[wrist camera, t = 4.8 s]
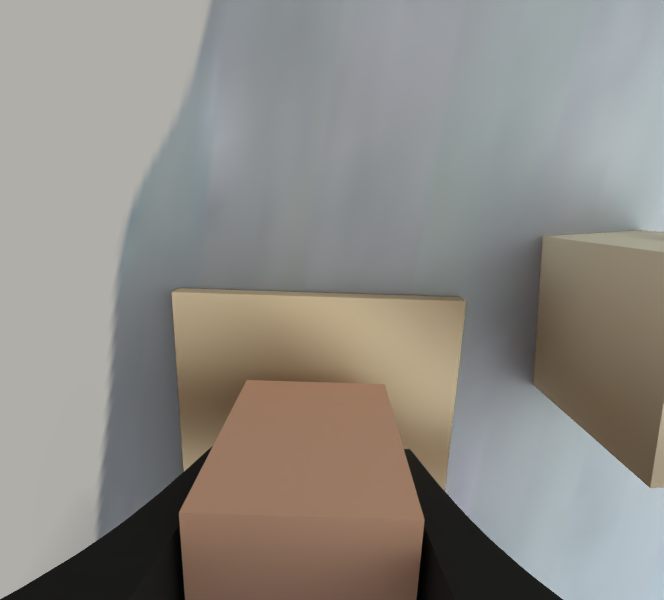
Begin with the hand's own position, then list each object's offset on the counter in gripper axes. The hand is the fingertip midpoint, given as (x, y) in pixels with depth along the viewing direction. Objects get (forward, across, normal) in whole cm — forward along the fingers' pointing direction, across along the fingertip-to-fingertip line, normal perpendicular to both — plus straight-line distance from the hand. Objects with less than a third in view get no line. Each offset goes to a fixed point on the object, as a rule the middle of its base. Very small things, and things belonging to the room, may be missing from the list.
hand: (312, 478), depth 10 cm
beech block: (+1, -7, -4) cm, 8 cm away
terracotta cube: (+1, 0, 0) cm, 1 cm away
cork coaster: (+3, 0, 0) cm, 3 cm away
